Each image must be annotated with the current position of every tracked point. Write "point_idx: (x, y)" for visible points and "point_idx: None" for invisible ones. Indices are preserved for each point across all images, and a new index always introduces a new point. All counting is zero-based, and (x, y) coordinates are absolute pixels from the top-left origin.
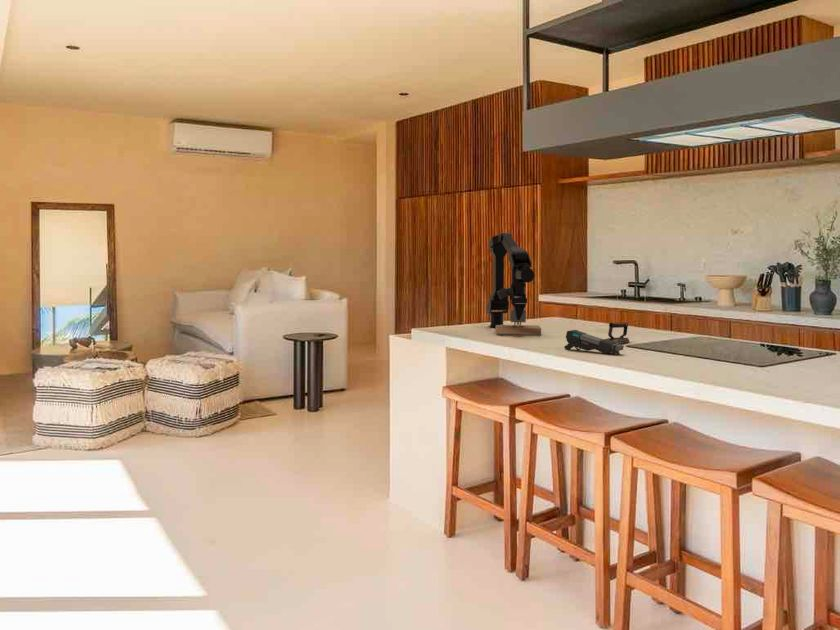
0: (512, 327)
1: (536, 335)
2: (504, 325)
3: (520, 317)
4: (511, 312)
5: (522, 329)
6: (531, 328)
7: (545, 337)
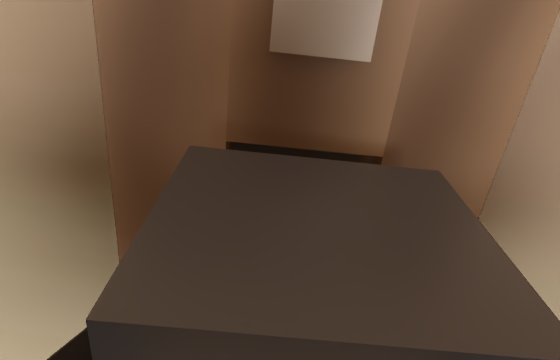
0: (203, 140)
1: None
2: (276, 26)
3: None
4: (122, 275)
5: (124, 237)
6: None
7: (61, 347)
